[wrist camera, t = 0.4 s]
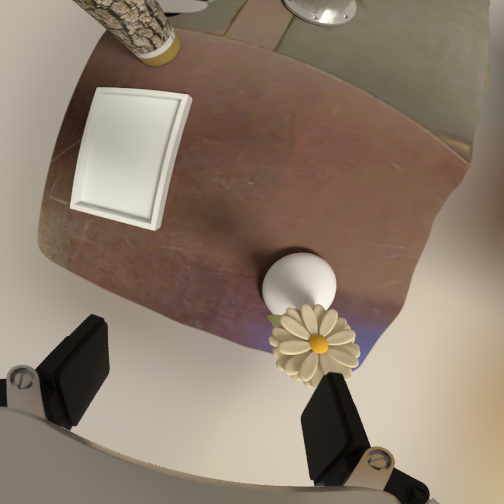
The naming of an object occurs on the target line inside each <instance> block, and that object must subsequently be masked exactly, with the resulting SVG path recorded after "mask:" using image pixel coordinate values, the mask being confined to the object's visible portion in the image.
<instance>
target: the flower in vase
mask: <svg viewBox="0 0 504 504" xmlns="http://www.w3.org/2000/svg"><path fill="white" fill-rule="evenodd" d="M335 292H336V278H335V274H334V272H333V270H332V268H331V267H330V265H329V264H328V263H327V262H326V261H325V260H324V259H322V258H321V257H319V256H317V255H314V254H310V253H294V254H290V255H287V256H285V257H283V258H281V259H279V260H278V261H277V262H276V263H274V264H273V265H272V266H271V268H270V269H269V270H268V272H267V274H266V276H265V278H264V281H263V286H262V294H263V299H264V302H265V304H266V306H267V307H268V309H269V310H270V311H271V312H272V313H273V314H274V315H267V316H266V317H267V318H268V319H269V320H270V322H271V323H272V324H273V325H274V327H275V328H273V329H272V336H270V337H269V343H270V344H271V345H272V346H274V347H276V348H274V349H273V355H274V357H275V358H277V359H278V361H277V362H276V365H277V368H278V369H279V370H282V371H285V373H286V374H288V375H291V378H292V379H293V380H295V381H300V380H303V382H304V384H305V386H307V387H313V388H314V389H316V388H317V386H318V384H319V382H320V380H321V378H322V377H323V375H327V373H328V372H336V373H342V374H343V376H344V379H345V381H348V380H350V379H351V377H352V375H351V374H352V370H351V368H350V367H357V366H358V363H359V362H358V359H357V358H358V357H359V356H360V351H359V346H358V345H357V344H355V343H353V342H354V341H355V333H354V331H353V330H351V329H350V326H349V325H348V324H347V321H346V320H345V319H344V318H338V313H337V312H336V311H335V310H334V309H330V310H328V311H326V310H327V309H328V308H329V306H330V305H331V303H332V301H333V299H334V296H335Z"/></svg>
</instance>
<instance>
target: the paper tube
mask: <svg viewBox="0 0 504 504" xmlns="http://www.w3.org/2000/svg"><path fill="white" fill-rule="evenodd" d="M73 1H75V3H77V4H78V5H79V6H80V7H81V8H83V9H84V10H85V11H86V12H88V13H89V14H90V15H91V16H92V17H94V18H95V19H96V20H97V21H98V22H99V23H101V24H102V25H103V26H104V27H105V28H106V29H107V30H108V31H109V32H111V33H112V34H113V35H114V36H115V37H116V38H117V39H118V40H119V41H121V42H122V43H123V44H124V45H125V46H126V47H127V48H128V49H129V50H130V51H131V52H132V53H133V54H135V55H136V56H137V57H138V58H139V59H140V60H141V61H142V62H143V63H144V64H146V65H148V66H161V65H164V64H166V63H168V62H169V61H171V60H172V59H173V58H174V57H175V56H176V55H177V53H178V51H179V49H180V40H179V38H178V36H177V35H176V33H175V31H174V29H173V27H172V26H171V24H170V22H169V21H168V19H167V17H166V16H165V14H164V12H163V10H162V9H161V8H160V6H159V4H158V2H157V1H156V0H73Z"/></svg>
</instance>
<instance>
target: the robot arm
mask: <svg viewBox="0 0 504 504" xmlns="http://www.w3.org/2000/svg"><path fill="white" fill-rule="evenodd" d="M283 1H284V3H285V5H286V6H287V8H288V9H289V10H290V11H291V12H292V13H293V14H295V15H296V16H298V17H299V18H301V19H303V20H305V21H307V22H310V23H313V24H317V25H321V26H339V25H343V24H345V23H347V22H349V21H350V20H351V19H352V18H353V17H354V15H355V13H356V9H357V8H356V3H355V0H283ZM109 370H110V367H109V351H108V325H107V323H106V322H105V321H104V318H102V317H99V316H96V315H93V314H91V315H90V316H89V317H88V318H86V320H85V321H83V322H82V323H81V325H79V327H77V328H76V329H75V330H74V331H73V332H72V333H71V334H70V335H69V336H67V337H66V338H65V339H64V340H63V341H62V342H61V343H60V344H59V345H58V346H57V347H56V348H55V349H54V350H53V351H52V352H51V353H50V354H49V355H48V356H47V357H46V359H45V360H43V362H42V363H41V364H40V365H39V366H38V367H37V368H36V369H35V370H34V369H33V368H32V367H29V366H26V365H19V366H15V367H13V368H12V369H11V370H9V372H8V374H7V378H6V379H0V504H439V503H438V502H437V501H436V500H435V499H434V498H433V499H431V500H430V499H429V495H430V494H429V490H428V487H427V486H426V485H425V484H424V483H422V482H420V481H418V480H416V479H414V478H413V477H410V476H409V475H407V474H405V473H403V472H401V471H400V470H397V469H396V468H394V464H395V460H394V457H393V455H392V454H391V453H390V452H389V451H388V450H386V449H384V448H382V447H371V446H370V443H369V441H368V438H367V435H366V432H365V430H364V427H363V424H362V422H361V419H360V416H359V414H358V411H357V408H356V406H355V404H354V402H353V399H352V397H351V394H350V392H349V389H348V387H347V384H346V381H345V379H344V376H343V374H342V373H336V372H328V373H327V375H323V377H322V378H321V380H320V382H319V384H318V386H317V388H316V390H315V392H314V393H313V395H312V397H311V399H310V401H309V402H308V404H307V406H306V408H305V409H304V411H303V413H302V415H301V425H302V431H303V437H304V444H305V449H306V455H307V462H308V469H309V476H310V479H311V480H314V486H319V487H294V486H268V485H256V484H246V483H238V482H230V481H223V480H217V479H211V478H206V477H201V476H195V475H191V474H187V473H182V472H178V471H174V470H171V469H167V468H163V467H160V466H156V465H153V464H149V463H146V462H143V461H140V460H137V459H134V458H131V457H129V456H126V455H123V454H120V453H118V452H115V451H113V450H110V449H108V448H105V447H103V446H101V445H98V444H96V443H94V442H91V441H89V440H87V439H85V438H82V437H80V436H78V435H76V434H74V433H72V432H70V430H71V428H72V426H77V425H78V423H79V421H80V419H81V418H82V416H83V415H84V413H85V411H86V410H87V408H88V406H89V405H90V403H91V401H92V400H93V398H94V396H95V395H96V393H97V392H98V390H99V389H100V387H101V385H102V384H103V382H104V381H105V379H106V378H107V376H108V374H109ZM62 427H63V428H62ZM64 428H65V429H64ZM66 429H67V430H66ZM68 430H69V431H68Z"/></svg>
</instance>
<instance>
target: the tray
mask: <svg viewBox="0 0 504 504" xmlns="http://www.w3.org/2000/svg"><path fill="white" fill-rule="evenodd" d="M191 103H192V98H191V97H190V96H189V95H187V94H180V93H172V92H164V91H154V90H143V89H130V88H107V87H97V89H96V92H95V95H94V98H93V101H92V105H91V108H90V111H89V115H88V118H87V122H86V126H85V130H84V134H83V138H82V142H81V146H80V151H79V156H78V161H77V166H76V171H75V177H74V183H73V190H72V197H71V205H70V208H71V209H75V210H78V211H82V212H86V213H90V214H93V215H97V216H101V217H105V218H108V219H112V220H116V221H120V222H123V223H127V224H131V225H135V226H139V227H142V228H146V229H150V230H154V231H155V230H157V229H159V228H160V227H161V222H162V216H163V211H164V206H165V202H166V197H167V192H168V188H169V184H170V179H171V175H172V171H173V167H174V163H175V159H176V155H177V151H178V147H179V144H180V140H181V136H182V133H183V129H184V126H185V122H186V119H187V116H188V112H189V109H190V106H191Z"/></svg>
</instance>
